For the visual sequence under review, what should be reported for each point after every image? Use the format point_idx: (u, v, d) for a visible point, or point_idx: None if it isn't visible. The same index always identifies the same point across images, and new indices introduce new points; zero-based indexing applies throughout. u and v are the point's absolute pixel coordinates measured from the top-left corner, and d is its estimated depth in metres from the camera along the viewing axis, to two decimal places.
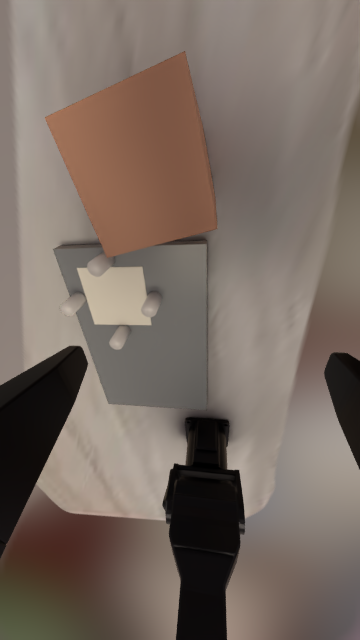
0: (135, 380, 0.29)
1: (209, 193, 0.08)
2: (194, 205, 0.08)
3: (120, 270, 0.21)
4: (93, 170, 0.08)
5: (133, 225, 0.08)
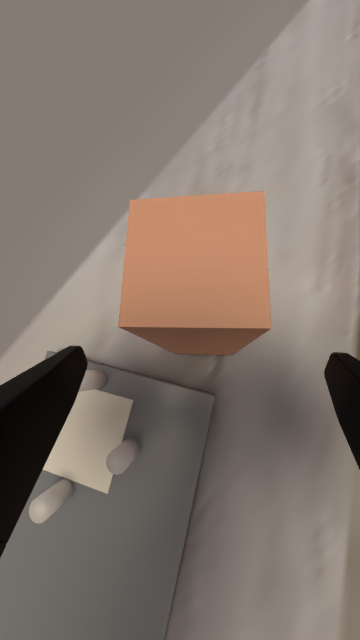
0: (23, 620, 0.15)
1: (267, 289, 0.07)
2: (247, 296, 0.07)
3: (105, 396, 0.17)
4: (151, 242, 0.07)
5: (168, 298, 0.07)
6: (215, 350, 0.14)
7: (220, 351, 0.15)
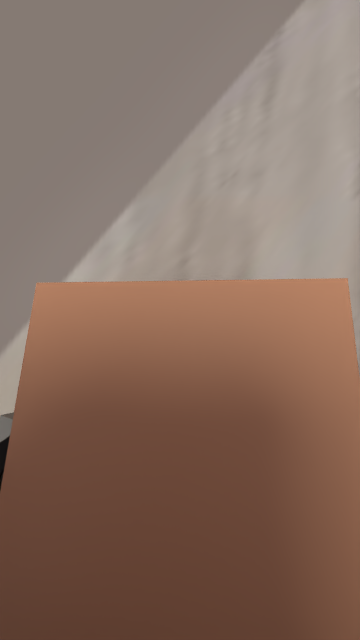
0: None
1: None
2: (321, 605, 0.02)
3: None
4: (73, 396, 0.03)
5: (105, 573, 0.03)
6: None
7: None
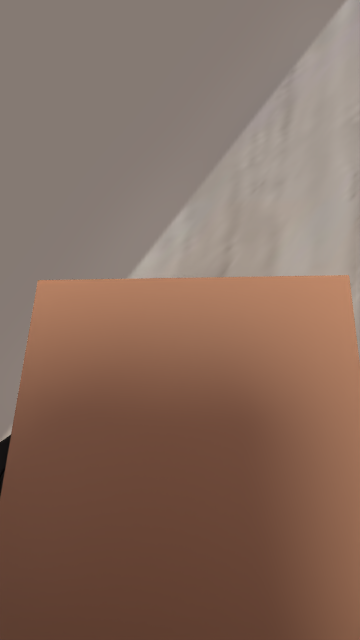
0: None
1: None
2: (323, 600, 0.02)
3: None
4: (74, 392, 0.03)
5: (107, 570, 0.03)
6: None
7: None
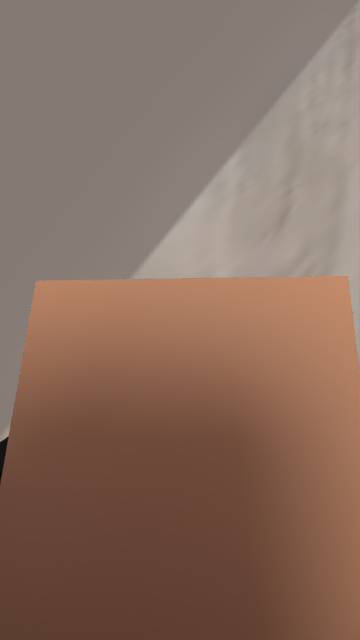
0: None
1: None
2: (322, 602, 0.02)
3: None
4: (73, 394, 0.03)
5: (105, 572, 0.03)
6: None
7: None
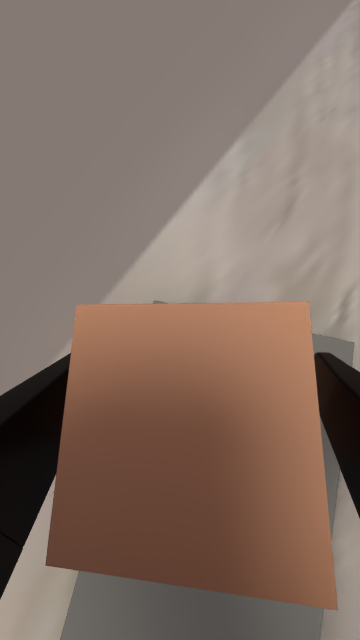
0: None
1: (325, 514, 0.03)
2: (287, 527, 0.03)
3: None
4: (109, 390, 0.04)
5: (137, 514, 0.04)
6: None
7: None
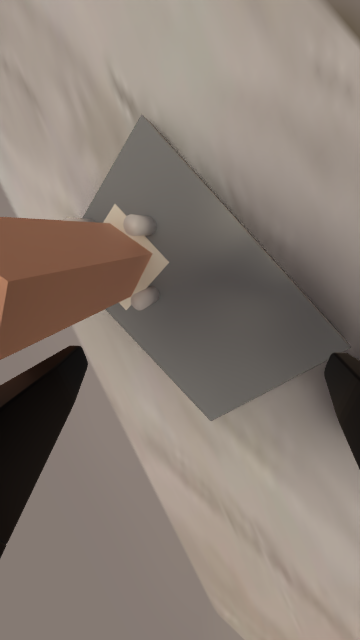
0: (211, 359, 0.20)
1: None
2: None
3: None
4: None
5: None
6: (118, 275, 0.16)
7: (125, 270, 0.16)
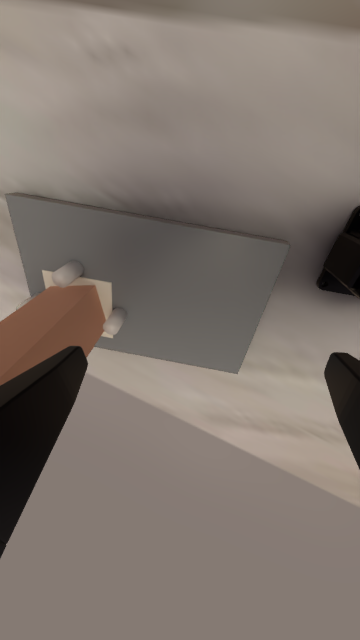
0: (199, 329, 0.22)
1: None
2: None
3: None
4: None
5: None
6: (77, 322, 0.18)
7: (80, 314, 0.18)
